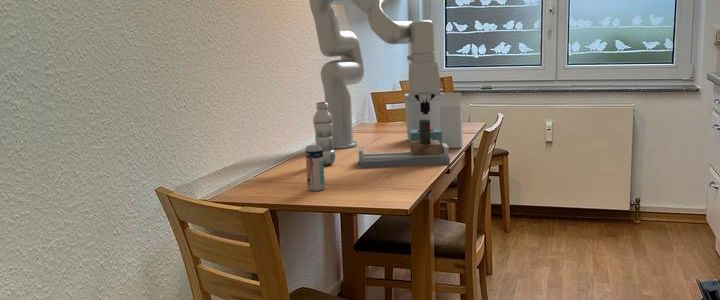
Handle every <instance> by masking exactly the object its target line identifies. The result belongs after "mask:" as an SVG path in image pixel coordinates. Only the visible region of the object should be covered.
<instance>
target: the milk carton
mask: <svg viewBox="0 0 720 300" xmlns="http://www.w3.org/2000/svg"><path fill="white" fill-rule="evenodd" d="M462 101H463V100H462V93H461V92H445V93H444V92H443V93H441V95H440V130H441V132H442V143H446V144H447V145H448V147H449V149H461V148H462V147H463V144H464V143H463V142H464V141H463V136H464V135H463V106H462V105H463V103H462Z"/></svg>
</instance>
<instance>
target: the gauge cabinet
mask: <svg viewBox="0 0 720 300" xmlns="http://www.w3.org/2000/svg"><path fill="white" fill-rule="evenodd" d="M430 140H439V142H440V144H441V150H442V132H441V130H440V129H439V128H437V129H431V132H430ZM410 141H420V132H419V129H415V130H410ZM410 141H409V142H410ZM409 149H410V150H411V148H409Z"/></svg>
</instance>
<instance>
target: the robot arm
mask: <svg viewBox="0 0 720 300" xmlns="http://www.w3.org/2000/svg"><path fill="white" fill-rule="evenodd" d="M308 1H309V7H310V11H311V14H312V16H313V20H314V23H315V24H314V25H315V30H316V36H317V41H318V46H319V50H320V52H321V54H322V55H323V56H324V57H328V58H334V57H336V58H337V57H340V59H335V60H334V59H333V60H330V61H328V62H326V63H324V65H322V67H321V69H320V79H321V83H322V87H323V93H324V102H328V108H327V109H328V111H329V112H330V114H331V115H332V117H333V127H332V141H333V148H334V149H347V148H348V149H349V148H354V147H357V146H358V141H356V140H354V134H353V133H354V132H353V118H352V117H353V112H352V98H351V94H350V92H349V89H348V87H347V86H350V85H351V86H352V85H356V84H359V83H360V82H361V81H363V78H364V74H365V68H364V67H365V66H364V61H363V55H362V52H361V51H362V50H361V46H360V42H359V39H358V37H357V35H356V34H355V33H354V31H351V30H349V29H341V27H340V23H339V18H338V15H337V14H336V11H335V10H334V9H333V8H332V5H353V4H354V5H356V6H357V7H358V8H359V9H360V10H361V11H362V12H363V13H364V14H365V15H366V16H367V22H368V25H369V27H370V29H371V30H372V31H373V33H374V34H375V35H376V36H378V38H380V40H382V41H383V42H384V43H386V44H388V45H405V44H406V45H407V44H410V46H411V47H410V49H411V50H410V51H411V54H410V55H407V56H406V58H407V61H410V63H409V66H408V93H409V94H408V96H409V97H412V98H416V99H417V100H418V101H419V102H420V107H421V112H423V115H425V114H426V115H428V112H430V101H431V100H432V99H433V98H434V97H436V96H440V95H441V79H440V78H441V77H440V71H439V70H440V69H439V63H438V62H437V61H436V59H435V58H436V56H435V35H434V34H435V33H434V32H435V31H434V30H435V29H434V23H433V21H432V20H431V19H420V20H395V21H394V20H392V19H391V18H390V17H389V16H388V15H387V14H386V13H385V12H384V10H385V9H386V6H387V0H308ZM422 93H427V98H426V102H424V100H423V96H422ZM431 93H432V94H431ZM417 94H418V95H417ZM314 139H315V142H316V135H315V138H314Z"/></svg>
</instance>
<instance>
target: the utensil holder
mask: <svg viewBox="0 0 720 300" xmlns="http://www.w3.org/2000/svg"><path fill="white" fill-rule="evenodd" d="M440 92H441V91H440ZM441 93H444V92H441ZM408 94H409V92H408V93H405V94H404V97H403V98H404V104H405V105H404V107H405V118H406V119H405V122H406V133H407V140H408V142H410V130H415V129H419V120H427V119H429V121H430V124H431V129H437V128H439V129H440V96H436V97H434V98H433V99H432V100H431V101H430V112H428V115H426V114H425V115H423V112H421V107H420V102H419V101H418V100H417V99H416V98H412V97H409V96H408ZM431 94H432V93H431ZM417 95H418V94H417ZM422 96H423V100H424V102H426V98H427V93H422Z"/></svg>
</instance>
